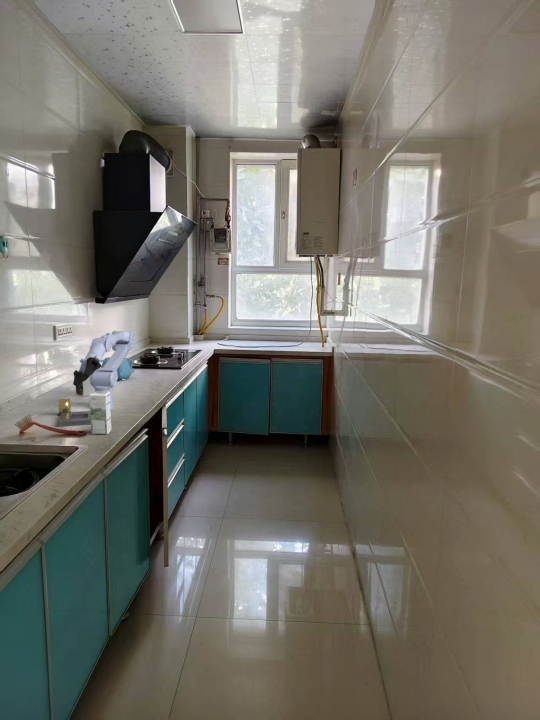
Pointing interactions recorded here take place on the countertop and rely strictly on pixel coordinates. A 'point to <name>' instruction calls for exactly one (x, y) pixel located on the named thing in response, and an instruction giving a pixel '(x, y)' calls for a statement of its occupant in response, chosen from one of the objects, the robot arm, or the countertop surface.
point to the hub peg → (64, 405)
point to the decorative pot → (122, 368)
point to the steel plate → (75, 418)
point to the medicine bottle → (85, 388)
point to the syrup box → (100, 412)
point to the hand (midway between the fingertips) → (81, 380)
